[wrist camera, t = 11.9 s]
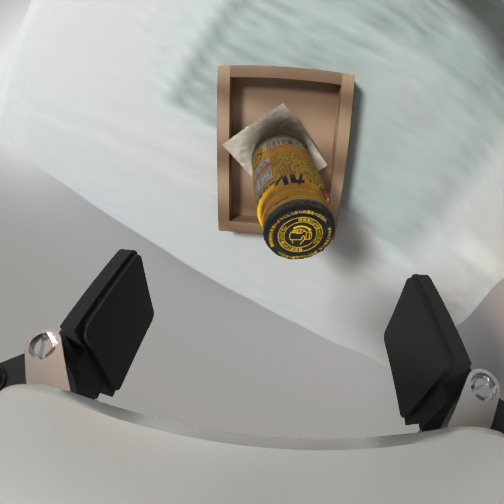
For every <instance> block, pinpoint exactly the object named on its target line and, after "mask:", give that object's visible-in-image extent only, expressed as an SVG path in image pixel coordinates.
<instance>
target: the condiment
mask: <svg viewBox="0 0 504 504" xmlns="http://www.w3.org/2000/svg"><path fill="white" fill-rule="evenodd" d="M223 146H224V147H225V148H226V149H227V150H228V152H229V153H230V154H231V155H232V156H233V157H234V158H235V159H236V160H237V161H238V162H239V163H240V165H241V166H242V167H243V168H244V169H245V170H246V171H247V172H248V173H249V174H250V175H251V176H252V177H253V188H254V190H253V191H254V197H255V198H254V200H255V208H256V213H257V218H258V221H259V223H260V224H261V226H262V228H263V235H264V240H265V242H266V244H267V245H268V247H269V248H270V249H271V250H272V251H273V252H274V253H275V254H277V255H278V256H282V257H285V258H287V259H303V258H308V257H311V256H313V255H315V254H317V253H319V252H320V251H323V250H324V248H325V247H326V246H327V245H328V244H329V243H330V241H331V239H332V237H333V235H334V233H335V222H334V218H333V215H332V213H331V200H330V196H329V193H328V191H327V188H326V186H325V184H324V182H323V180H322V178H321V176H320V174H319V172H318V171H319V170H321V169H323V168H324V167H326V166H328V165H327V164H326V162H325V161H324V159H323V158H322V156H321V155H320V153H319V152H318V150H317V149H316V147H315V146H314V144H313V143H312V142H311V140H310V139H309V137H308V136H307V134H306V133H305V132H304V130H303V129H302V128H301V126H300V125H299V123H298V122H297V121H296V119H295V118H294V116H293V115H292V114H291V113H290V111H289V110H288V109H287V107H286V106H285V105H284V103H282V104H281V105H279V106H278V107H276V108H274V109H273V110H271V111H270V112H268V113H267V114H265V115H264V116H262V117H260V118H259V119H258V120H256V121H255V122H253V123H252V124H250V125H249V126H247V127H246V128H245V129H243V130H242V131H241V132H239V133H238V134H236V135H235V136H233V137H232V138H231V139H230V140H228V141H227V142H226V143H224V144H223Z"/></svg>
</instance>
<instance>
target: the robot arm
mask: <svg viewBox="0 0 504 504" xmlns="http://www.w3.org/2000/svg"><path fill="white" fill-rule="evenodd" d="M153 316H154V311H153V307H152V303H151V298H150V294H149V290H148V286H147V282H146V277H145V273H144V268H143V263H142V259H141V256H140V255H138V254H137V252H136V251H134V250H125V249H121V250H119V251H118V252H117V253H116V254H115V256H114V257H113V258H112V259H111V260H110V261H109V263H108V264H107V265H106V266H105V268H104V269H103V270H102V272H101V273H100V274H99V275H98V277H97V278H96V279H95V280H94V281H93V283H92V284H91V285H90V287H89V288H88V289H87V290H86V292H85V293H84V294H83V295H82V297H81V298H80V300H79V301H78V302H77V304H76V305H75V306H74V307H73V309H72V310H71V312H70V313H69V314H68V316H67V317H66V318H65V320H64V321H63V323H62V324H61V326H60V327H61V331H60V332H59V333H58V332H57V331H55V330H52V329H44V330H41V331H38V332H36V333H35V334H34V335H32V336H31V337H30V339H29V340H28V341H27V343H26V346H25V353H24V354H22V355H19V356H17V357H14V358H12V359H9V360H7V361H4V362H2V363H0V504H504V401H503V400H501V399H500V398H499V396H500V387H499V384H498V381H497V380H496V378H495V377H494V375H493V374H491V373H490V372H489V371H487V370H484V369H479V368H478V369H475V370H473V371H471V369H470V365H471V361H470V359H469V357H468V354H467V352H466V349H465V347H464V345H463V342H462V340H461V338H460V336H459V334H458V331H457V329H456V327H455V325H454V323H453V321H452V319H451V317H450V315H449V313H448V311H447V309H446V307H445V305H444V303H443V301H442V299H441V297H440V295H439V293H438V291H437V289H436V287H435V286H434V284H433V282H432V280H431V278H430V277H429V276H428V275H418V274H414V275H412V277H411V278H408V279H407V281H406V283H405V286H404V288H403V291H402V293H401V296H400V298H399V301H398V303H397V306H396V308H395V310H394V313H393V315H392V317H391V319H390V322H389V324H388V326H387V328H386V330H385V334H384V341H385V345H386V349H387V354H388V358H389V362H390V366H391V371H392V375H393V380H394V385H395V389H396V394H397V399H398V405H399V410H400V415H401V417H403V418H405V424H406V425H411V424H418V423H419V427H420V430H419V432H417V433H409V434H401V435H391V436H379V437H366V438H343V439H342V438H340V439H311V438H309V439H307V438H285V437H270V436H258V435H249V434H240V433H233V432H225V431H219V430H212V429H206V428H201V427H195V426H190V425H185V424H180V423H176V422H171V421H166V420H162V419H158V418H154V417H150V416H146V415H142V414H139V413H135V412H132V411H128V410H125V409H121V408H118V407H115V406H111V405H108V404H105V403H102V402H99V401H98V396H99V394H100V393H102V394H105V395H108V396H111V397H112V396H113V395H114V393H115V390H119V389H120V387H121V385H122V383H123V381H124V379H125V376H126V374H127V372H128V370H129V368H130V366H131V364H132V361H133V359H134V357H135V355H136V353H137V351H138V349H139V346H140V344H141V342H142V340H143V338H144V336H145V334H146V332H147V330H148V328H149V326H150V324H151V322H152V319H153Z"/></svg>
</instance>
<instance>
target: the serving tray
mask: <svg viewBox="0 0 504 504" xmlns="http://www.w3.org/2000/svg"><path fill="white" fill-rule="evenodd" d="M354 78H355V75H350V74H344V73H337V72H330V71H322V70H314V69H304V68H292V67H277V66H242V65H238V66H218V84H217V173H218V222H219V230H221V231H234V232H248V233H261V234H263V228H262V226H261V224H260V223H259V221H258V218H257V213H256V208H255V200H254V198H255V197H254V191H253V190H254V188H253V177H252V176H251V175H250V174H249V173H248V172H247V171H246V170H245V169H244V168H243V167H242V166H241V165H240V163H239V162H238V161H237V160H236V159H235V158H234V157H233V156H232V155H231V154H230V153H229V152H228V150H227V149H226V148H225V147H224V146H223V144H224V143H226V142H227V141H228V140H230V139H231V138H232V137H233V136H235V135H236V134H238V133H239V132H241V131H242V130H243V129H245V128H246V127H247V126H249V125H250V124H252V123H253V122H255V121H256V120H258V119H259V118H260V117H262V116H264V115H265V114H267V113H268V112H270V111H271V110H273V109H274V108H276V107H278V106H279V105H281V104H282V103H284V105H285V106H286V107H287V109H288V110H289V111H290V113H291V114H292V115H293V116H294V118H295V119H296V121H297V122H298V123H299V125H300V126H301V128H302V129H303V130H304V132H305V133H306V134H307V136H308V137H309V139H310V140H311V142H312V143H313V144H314V146H315V147H316V149H317V150H318V152H319V153H320V155H321V156H322V158H323V159H324V161H325V162H326V164H327V165H328V166H326V167H324V168H323V169H321V170H319V171H318V172H319V174H320V176H321V178H322V180H323V182H324V184H325V186H326V188H327V191H328V193H329V196H330V200H331V213H332V215H333V218H334V222H335V231H336V225H337V219H338V213H339V207H340V201H341V195H342V188H343V181H344V174H345V167H346V160H347V152H348V143H349V135H350V125H351V115H352V104H353V92H354ZM334 236H335V233H334V235H333V237H332V240H334Z"/></svg>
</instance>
